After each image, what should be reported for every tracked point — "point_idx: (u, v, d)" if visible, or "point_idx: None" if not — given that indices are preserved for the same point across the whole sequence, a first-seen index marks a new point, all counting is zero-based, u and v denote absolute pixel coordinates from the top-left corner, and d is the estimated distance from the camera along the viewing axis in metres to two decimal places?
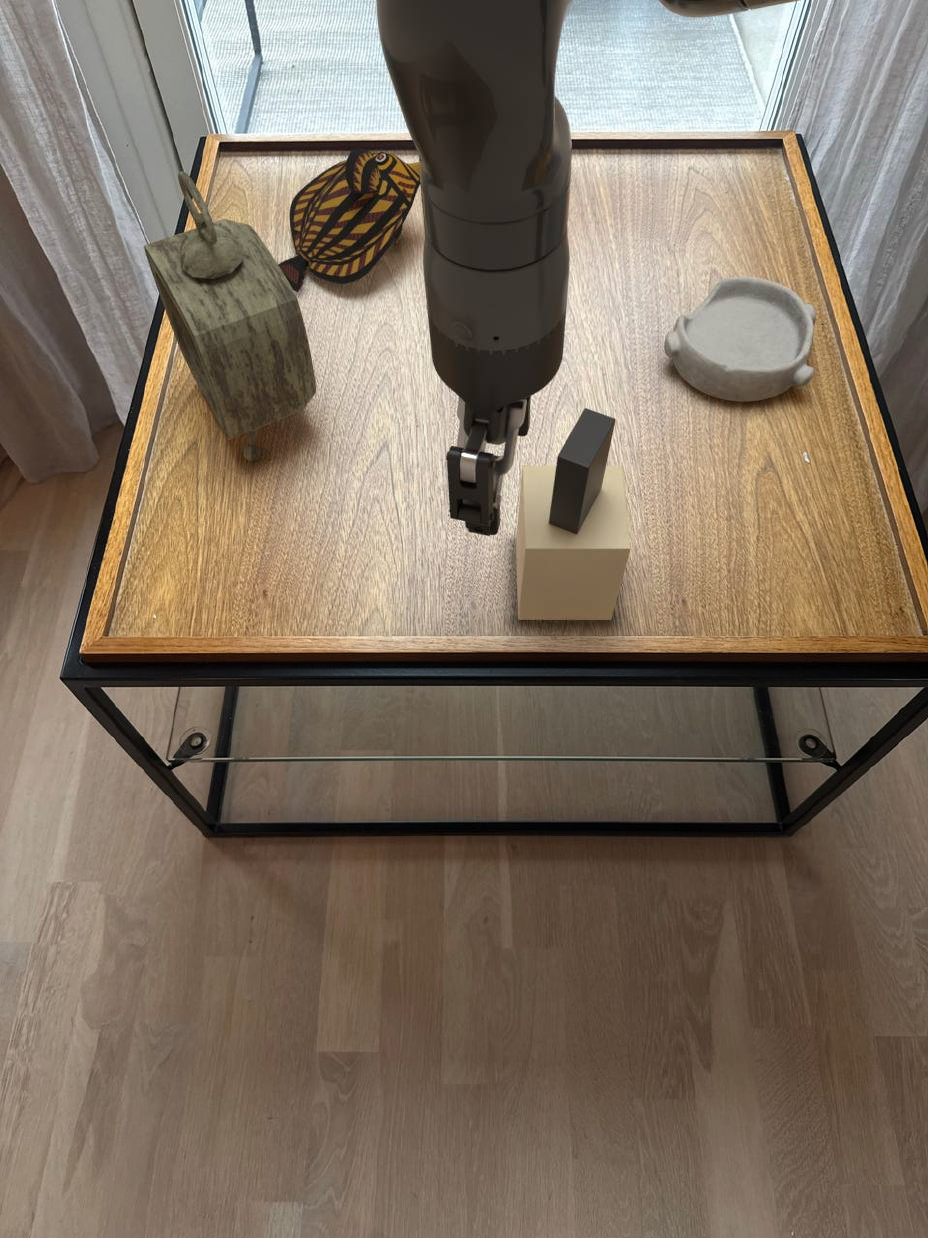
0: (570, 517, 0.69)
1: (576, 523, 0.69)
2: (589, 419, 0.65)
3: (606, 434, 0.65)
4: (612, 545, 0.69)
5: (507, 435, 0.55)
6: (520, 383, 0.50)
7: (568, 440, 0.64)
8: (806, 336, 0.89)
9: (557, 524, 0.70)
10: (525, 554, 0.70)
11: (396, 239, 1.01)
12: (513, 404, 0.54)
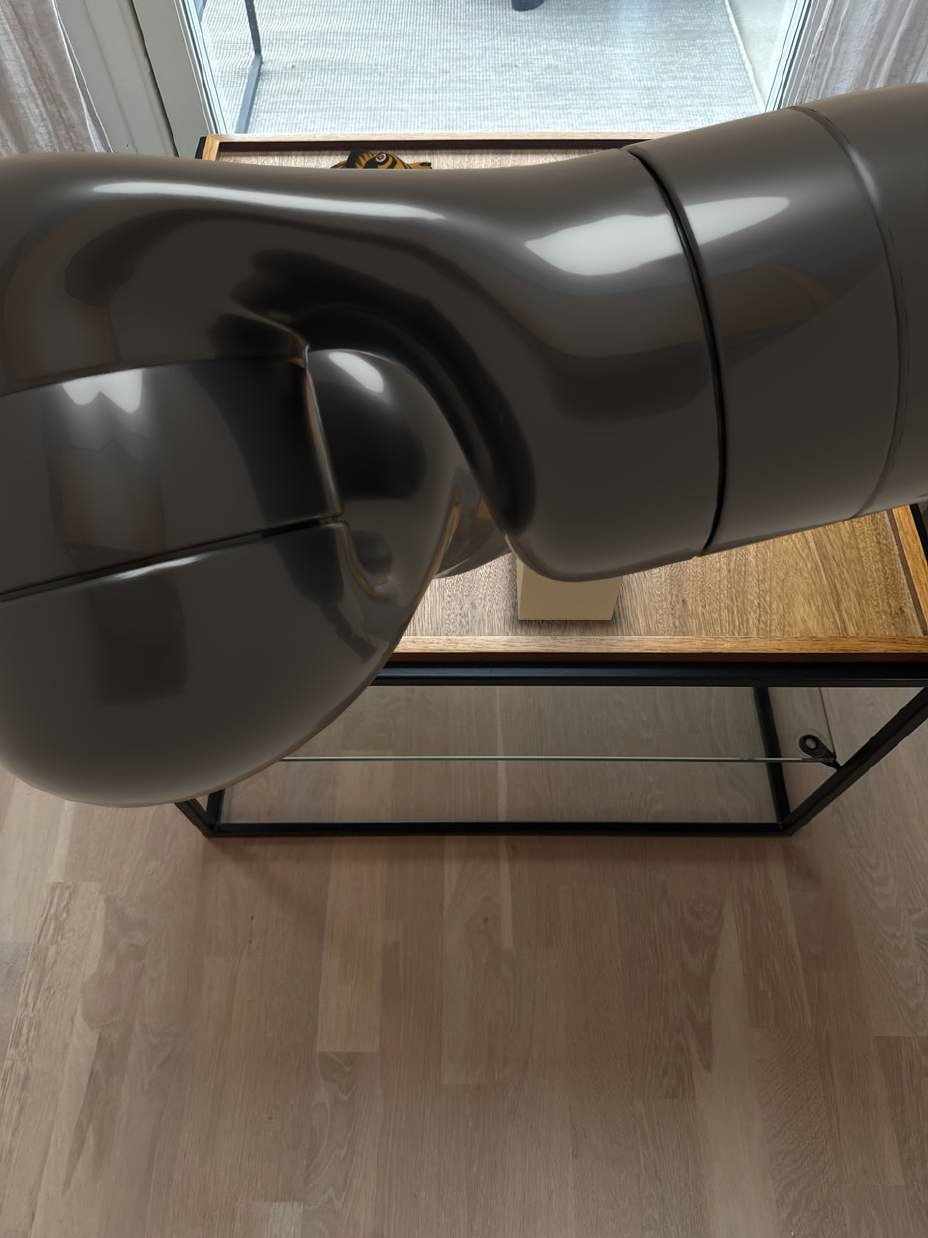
0: None
1: None
2: None
3: None
4: None
5: None
6: None
7: None
8: None
9: None
10: None
11: None
12: None
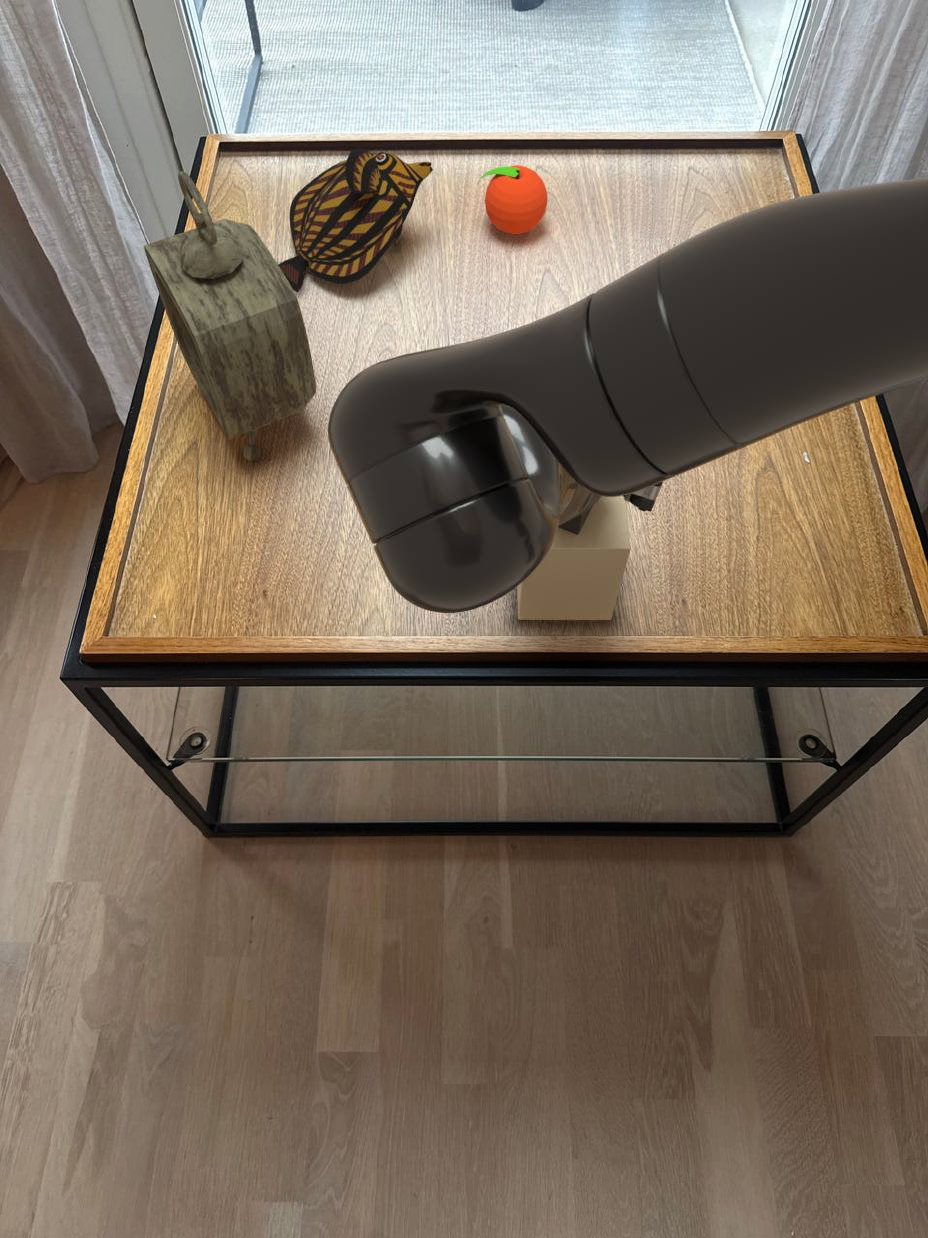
0: None
1: (577, 523, 0.69)
2: None
3: None
4: (612, 545, 0.69)
5: None
6: None
7: None
8: None
9: None
10: None
11: (396, 239, 1.01)
12: None
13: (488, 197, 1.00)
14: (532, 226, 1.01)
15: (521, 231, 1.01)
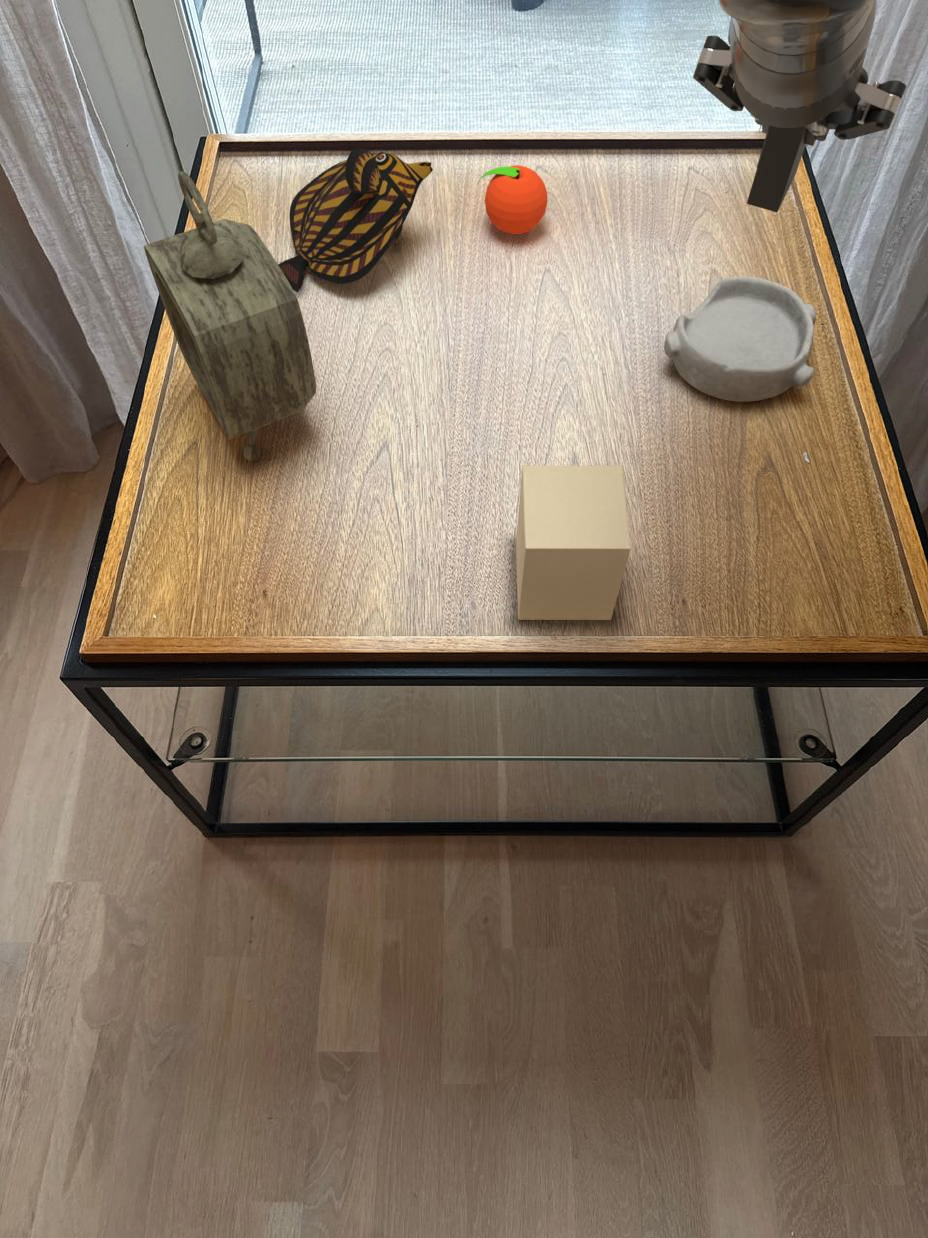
0: (774, 188, 0.67)
1: (780, 195, 0.68)
2: None
3: None
4: (612, 545, 0.69)
5: None
6: None
7: None
8: (805, 336, 0.89)
9: (757, 202, 0.69)
10: (525, 554, 0.70)
11: (396, 239, 1.01)
12: None
13: (488, 197, 1.00)
14: (532, 226, 1.01)
15: (521, 231, 1.01)
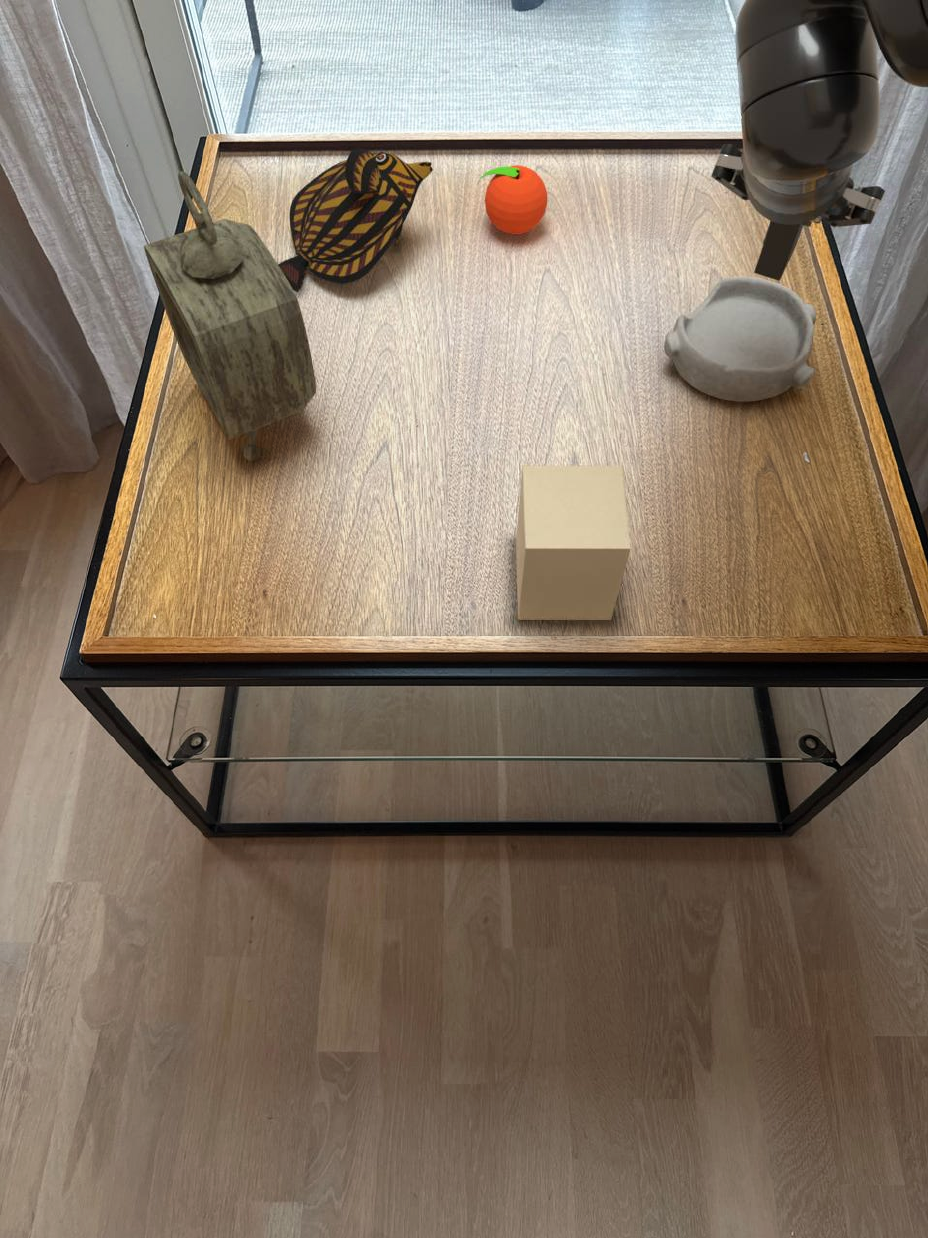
0: (777, 262, 0.81)
1: (782, 267, 0.81)
2: None
3: None
4: (612, 545, 0.69)
5: None
6: None
7: None
8: (806, 336, 0.89)
9: (762, 272, 0.82)
10: (525, 554, 0.70)
11: (396, 239, 1.01)
12: None
13: (488, 197, 1.00)
14: (532, 226, 1.01)
15: (521, 231, 1.01)
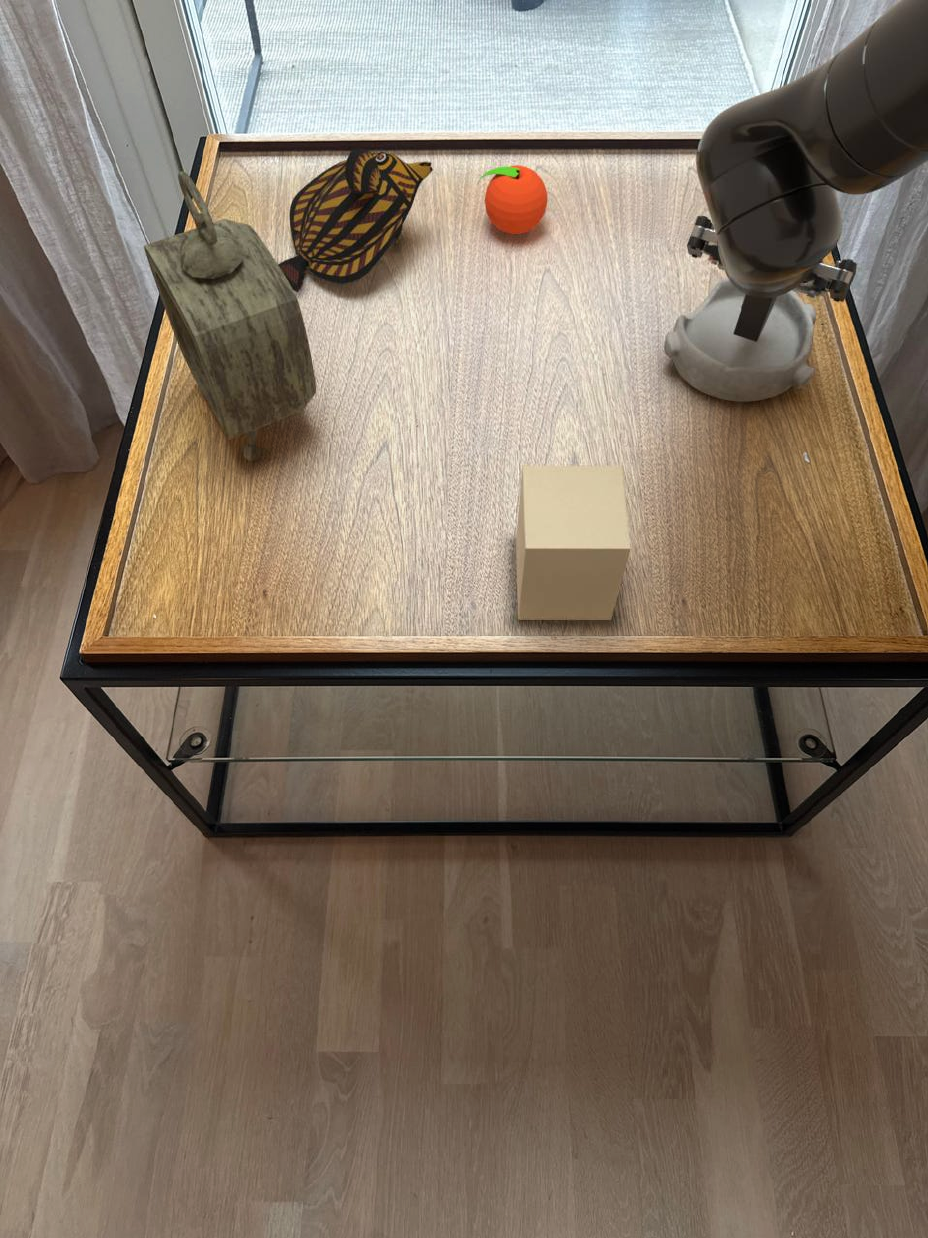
0: (754, 325, 0.87)
1: (758, 330, 0.87)
2: None
3: None
4: (612, 545, 0.69)
5: None
6: None
7: None
8: (805, 336, 0.89)
9: (741, 334, 0.88)
10: (525, 554, 0.70)
11: (396, 239, 1.01)
12: None
13: (488, 197, 1.00)
14: (532, 226, 1.01)
15: (521, 231, 1.01)
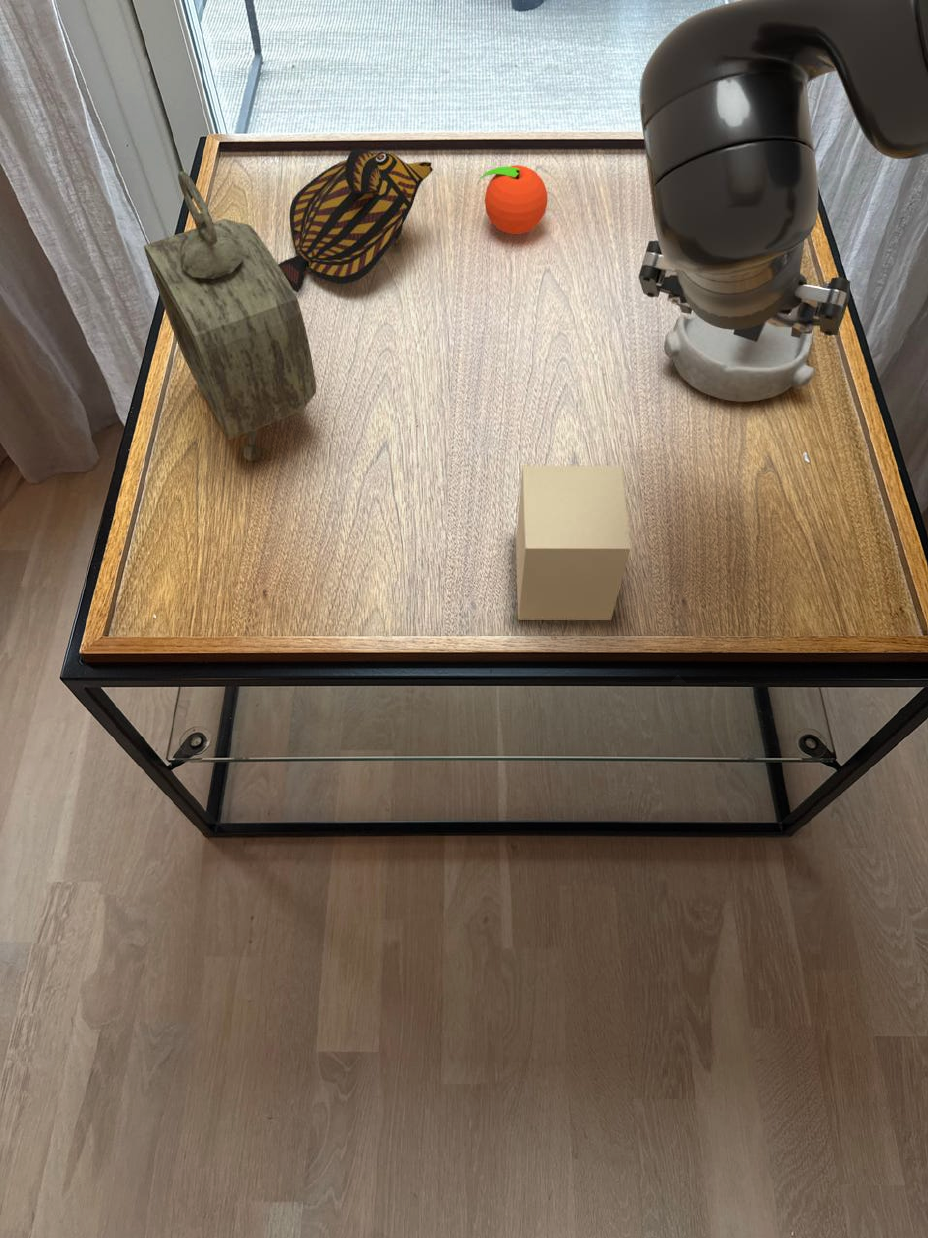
0: None
1: (758, 330, 0.87)
2: None
3: None
4: (612, 545, 0.69)
5: None
6: None
7: None
8: (805, 336, 0.89)
9: (741, 334, 0.88)
10: (525, 554, 0.70)
11: (396, 239, 1.01)
12: None
13: (488, 197, 1.00)
14: (532, 226, 1.01)
15: (521, 231, 1.01)
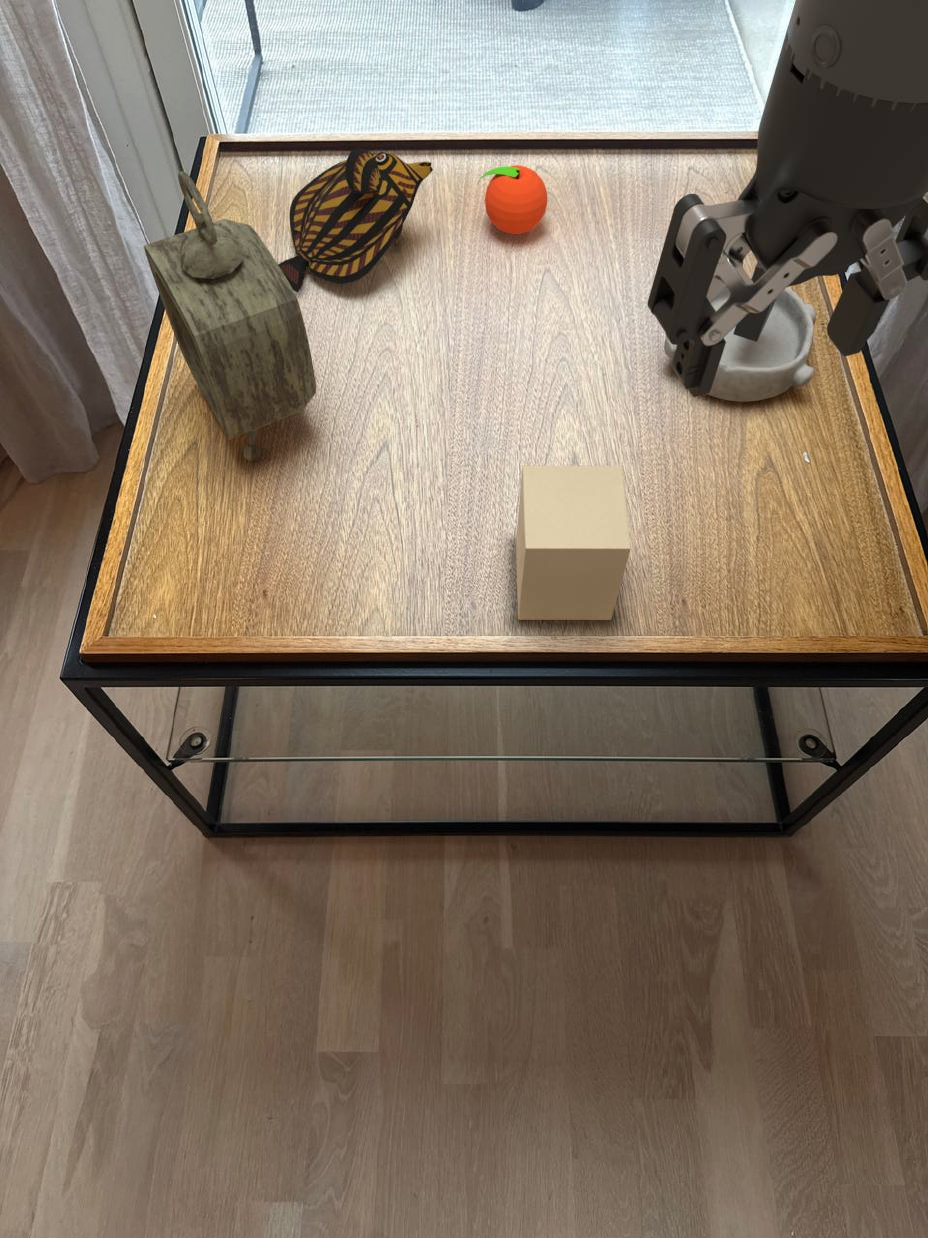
0: (754, 325, 0.87)
1: (758, 330, 0.87)
2: None
3: None
4: (612, 545, 0.69)
5: None
6: None
7: None
8: (806, 336, 0.89)
9: (741, 334, 0.88)
10: (525, 554, 0.70)
11: (396, 239, 1.01)
12: None
13: (488, 197, 1.00)
14: (532, 226, 1.01)
15: (521, 231, 1.01)
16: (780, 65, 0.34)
